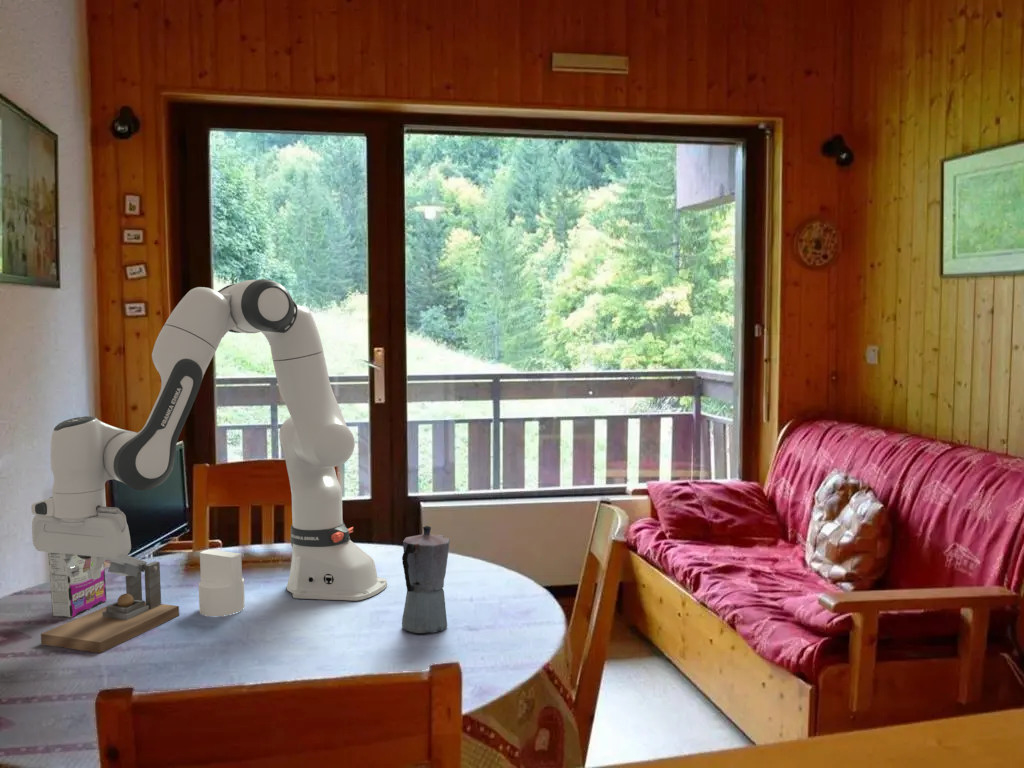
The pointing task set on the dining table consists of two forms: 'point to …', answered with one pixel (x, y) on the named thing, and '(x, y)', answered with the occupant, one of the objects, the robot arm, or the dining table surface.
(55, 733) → the dining table surface
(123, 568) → the lever
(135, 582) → the nutcracker bench
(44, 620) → the dining table surface
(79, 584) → the candy bar box
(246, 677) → the dining table surface
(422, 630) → the moka pot
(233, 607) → the white stepped block
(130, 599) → the nut
